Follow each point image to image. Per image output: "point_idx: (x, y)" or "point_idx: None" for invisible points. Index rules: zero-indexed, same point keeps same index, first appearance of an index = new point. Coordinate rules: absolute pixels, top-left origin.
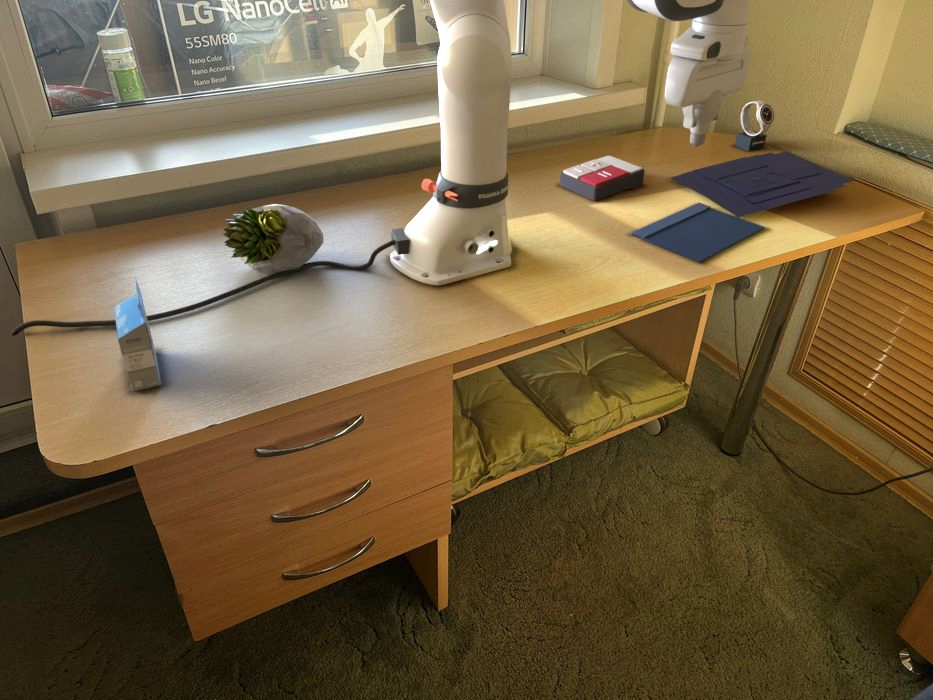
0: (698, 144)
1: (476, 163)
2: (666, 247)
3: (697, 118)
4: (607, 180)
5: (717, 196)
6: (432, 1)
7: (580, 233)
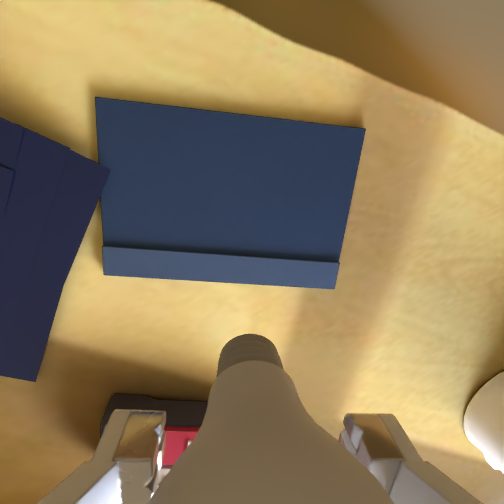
0: (270, 341)
1: None
2: (348, 211)
3: (370, 454)
4: None
5: (43, 261)
6: None
7: (380, 346)
